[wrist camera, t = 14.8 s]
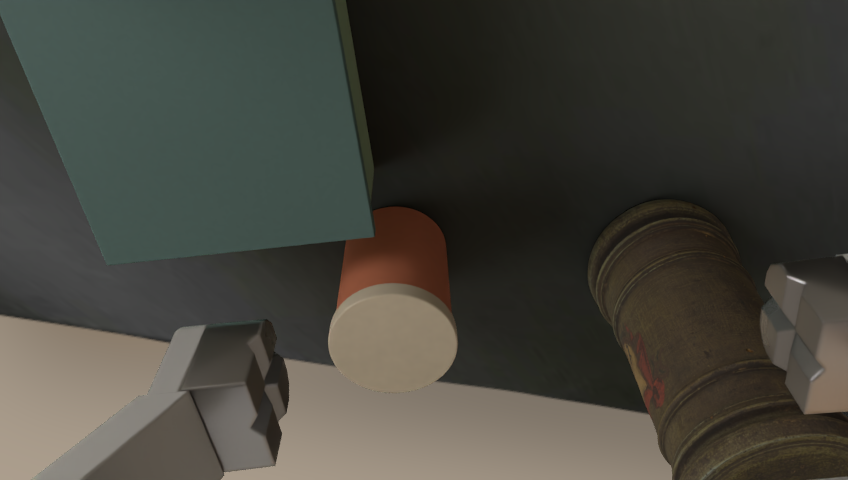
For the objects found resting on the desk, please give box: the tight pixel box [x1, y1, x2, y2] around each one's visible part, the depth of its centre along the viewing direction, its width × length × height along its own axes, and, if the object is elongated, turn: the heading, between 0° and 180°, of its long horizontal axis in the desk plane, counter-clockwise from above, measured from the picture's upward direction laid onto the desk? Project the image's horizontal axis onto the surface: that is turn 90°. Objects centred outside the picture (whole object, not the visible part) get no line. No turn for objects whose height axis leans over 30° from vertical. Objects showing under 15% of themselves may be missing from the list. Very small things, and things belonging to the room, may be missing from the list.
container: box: [588, 199, 848, 480], centre depth 37 cm, size 9×9×18 cm
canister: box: [328, 207, 458, 393], centre depth 40 cm, size 7×7×9 cm
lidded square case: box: [0, 0, 376, 265], centre depth 35 cm, size 14×14×7 cm
